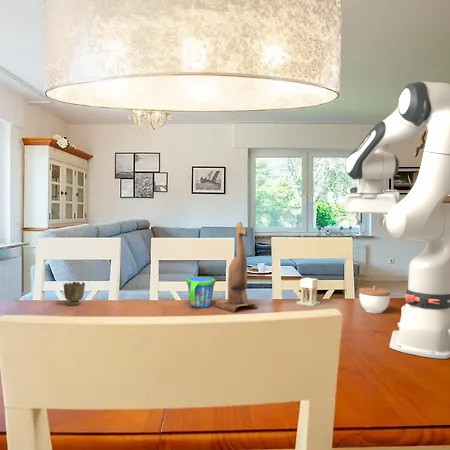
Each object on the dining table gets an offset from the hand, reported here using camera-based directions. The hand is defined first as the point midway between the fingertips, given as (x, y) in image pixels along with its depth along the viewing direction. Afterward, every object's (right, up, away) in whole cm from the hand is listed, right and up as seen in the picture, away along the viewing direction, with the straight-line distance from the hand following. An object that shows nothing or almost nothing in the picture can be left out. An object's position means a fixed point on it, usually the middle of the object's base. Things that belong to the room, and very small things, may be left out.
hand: (370, 225), depth 164 cm
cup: (-111, -29, -9) cm, 116 cm away
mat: (-24, -31, +2) cm, 39 cm away
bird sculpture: (-52, -31, -9) cm, 61 cm away
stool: (-24, -30, +1) cm, 38 cm away
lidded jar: (-2, -32, -9) cm, 33 cm away
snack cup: (-65, -30, -6) cm, 72 cm away
